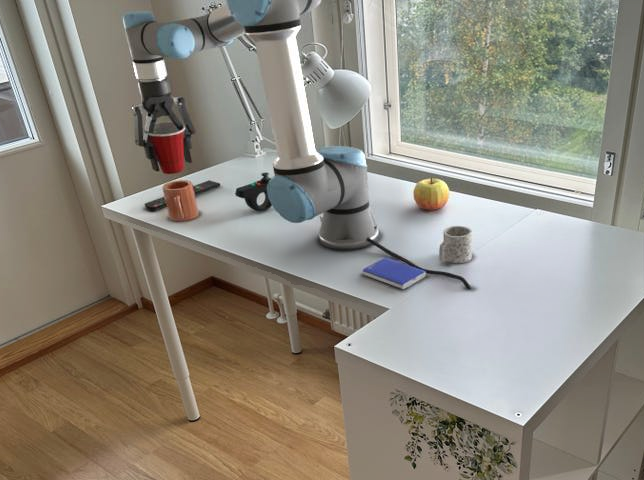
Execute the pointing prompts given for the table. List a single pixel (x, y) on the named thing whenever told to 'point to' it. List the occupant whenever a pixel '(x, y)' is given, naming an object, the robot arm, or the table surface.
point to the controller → (255, 193)
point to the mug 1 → (180, 200)
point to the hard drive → (394, 273)
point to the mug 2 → (456, 245)
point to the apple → (431, 194)
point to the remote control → (197, 189)
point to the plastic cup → (168, 146)
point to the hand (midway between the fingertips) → (172, 165)
